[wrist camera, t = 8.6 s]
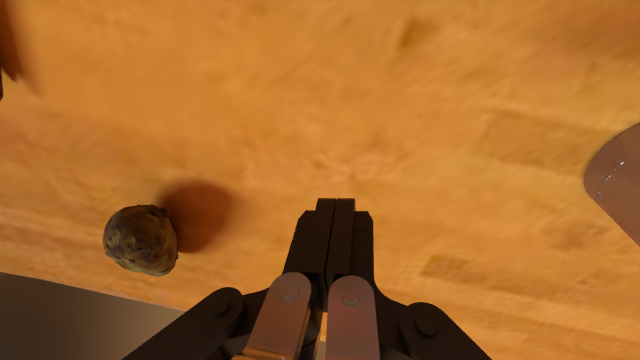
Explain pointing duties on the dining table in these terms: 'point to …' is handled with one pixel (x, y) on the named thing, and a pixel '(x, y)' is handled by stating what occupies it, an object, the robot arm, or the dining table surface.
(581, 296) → the dining table surface
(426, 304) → the robot arm
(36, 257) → the dining table surface
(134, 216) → the potato
